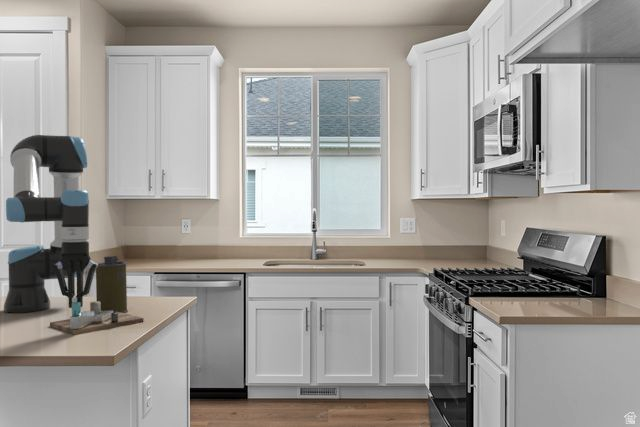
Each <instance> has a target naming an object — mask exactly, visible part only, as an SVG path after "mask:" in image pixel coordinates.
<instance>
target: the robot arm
mask: <svg viewBox="0 0 640 427" xmlns="http://www.w3.org/2000/svg"><path fill="white" fill-rule="evenodd" d="M9 157H10V158H9V159H10V165H11V166H12V167H13V197H8V198H6V200H5V209H6V210H5V213H6V215H5V218H6V220H7V221H8V222H11V223H33V222H34V223H35V222H37V223H38V222H54V227H53V228H54V239H53V240H52V241H51V242H50V245H49V246H50V247H49V248H45V247H44V245H42V244H41V245H31V246H24V247H19V248H15V249H12V250H10V251H9V253H8V257H7V258H8V260H7V265H8V292H7V295H6V298H5V301H4V304H3V312H4V311H5V312H4V313H8V312H12V314H15V313H17V314H19V313H30V312H31V313H32V312H38V311H39V312H40V311H44V310H47V309H50V308H51V300H50V298H49V295H48V293H47V290H46V287H45V280H46V281H47V280H57V281H58V285H59V286H58V287H59V289H60V292H61V295H62V296H65V297H67V298H68V308H69V309H72V303H73V302H81V308H82V307H83V304H84V302H83V300H84V298H83V297H84V296H87V295H89V294H90V291H91V287H92V283H93V279H94V275H95V273H96V268H97V267H98V263H97V262H96V263H95V262H94V261H92V258H91V256H90V242H89V239H90V231H89V230H90V225H89V219H90V218H89V215H90V214H89V210H90V209H89V208H90V207H89V205H90V199H89V192H88V190H83V189H80V182H79V181H80V176H81V175H83V173H84V169H87V167H88V156H87V151H86V145H85V142H84V140H83V138H81V137H79V136H72V135H49V134H47V135H45V134H44V135H43V134H35V135H34V134H33V135H31V136H30V135H29V136H28V137H26V138H23V139H22V140H20V141H19V142H17V143H16V144H15V145H14V147H13V149H12V150H11V152H10V156H9ZM40 167H41V168H48V172H49V173H50V174H51V176H53V197H47V196H46V197H41V186H40V185H41V184H40V183H41V182H40ZM87 267H88V268H89V269H88V273H87V275H86V280H85V284H84V275H85V273H86V271H87ZM75 278H76V282H75ZM66 279H67V282H66ZM75 283H76V286H75ZM75 287H76V289H75ZM75 290H76V293H75Z"/></svg>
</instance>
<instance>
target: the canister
mask: <svg viewBox="0 0 640 427" xmlns="http://www.w3.org/2000/svg"><path fill="white" fill-rule="evenodd" d="M103 259H104V260H103V261H104V262H99V263H98V267H97V268H96V270H95V282H96V283H95V288H96V289H95V290H96V291H95V292H96V301H100V306H101V311H113V312H116V311H117V312H121V313H125V314H126V313H128V311H129V310H128V296H127V294H128V290H127V264H128V263H127V262H125V261H121V260H120V259H119V258H118V256H117V255H106V256H104V257H103Z"/></svg>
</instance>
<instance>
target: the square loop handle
mask: <svg viewBox="0 0 640 427" xmlns="http://www.w3.org/2000/svg"><path fill="white" fill-rule="evenodd" d="M81 308H82V307H81V302H73V303H72V308H71V316H69V319H70V329H80V328H82V327H85V326H87V325H89V324H91V323H93V322H103V321H105V320H108V319H110V318H111V313H113V311H101V314H100V315H94V311H90V310H83V311H81V310H82V309H81Z"/></svg>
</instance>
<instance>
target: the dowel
mask: <svg viewBox="0 0 640 427" xmlns="http://www.w3.org/2000/svg"><path fill="white" fill-rule="evenodd" d="M116 322H118V313H111V323H116Z"/></svg>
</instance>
